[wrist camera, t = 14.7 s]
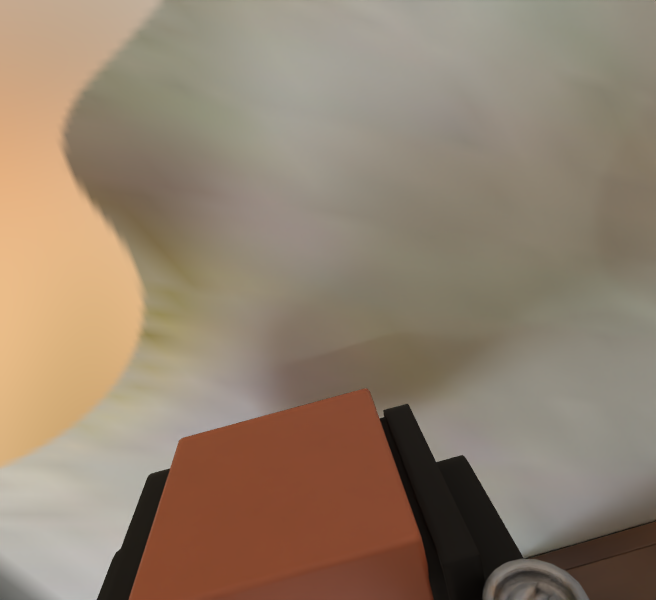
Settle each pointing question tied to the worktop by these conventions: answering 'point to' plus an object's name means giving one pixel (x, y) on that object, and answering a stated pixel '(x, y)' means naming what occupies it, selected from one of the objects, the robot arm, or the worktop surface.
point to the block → (286, 512)
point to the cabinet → (612, 564)
